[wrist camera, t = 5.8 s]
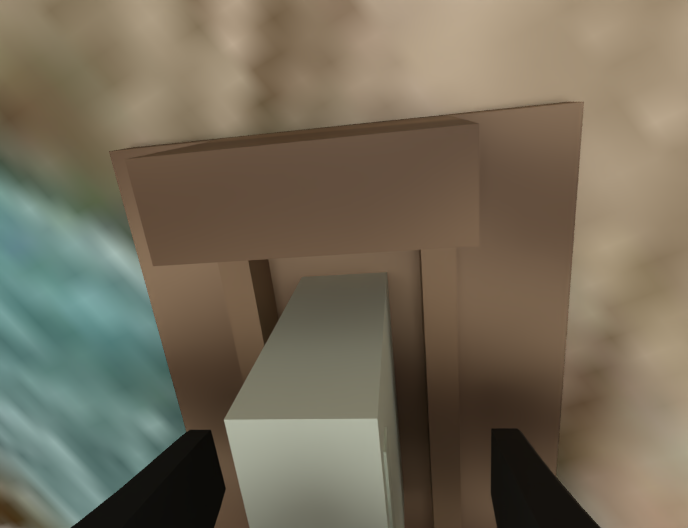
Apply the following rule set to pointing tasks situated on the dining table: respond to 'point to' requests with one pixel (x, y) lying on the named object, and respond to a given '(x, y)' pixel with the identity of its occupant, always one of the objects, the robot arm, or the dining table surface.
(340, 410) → the door panel
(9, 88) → the dining table surface
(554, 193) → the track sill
